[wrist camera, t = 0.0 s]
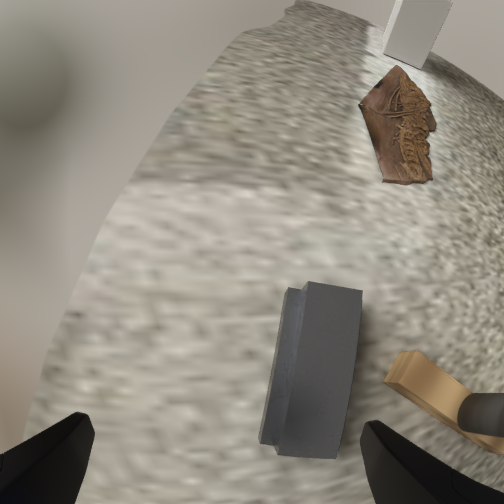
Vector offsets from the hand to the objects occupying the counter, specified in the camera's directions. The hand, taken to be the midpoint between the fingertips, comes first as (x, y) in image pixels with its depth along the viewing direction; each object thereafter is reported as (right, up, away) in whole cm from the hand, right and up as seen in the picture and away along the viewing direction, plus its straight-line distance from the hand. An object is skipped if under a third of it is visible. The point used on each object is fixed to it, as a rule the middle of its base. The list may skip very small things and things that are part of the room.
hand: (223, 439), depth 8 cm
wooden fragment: (+20, +24, +26) cm, 40 cm away
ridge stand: (+5, -4, +15) cm, 16 cm away
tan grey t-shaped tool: (+20, -9, +13) cm, 26 cm away
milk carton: (+27, +40, +32) cm, 57 cm away
